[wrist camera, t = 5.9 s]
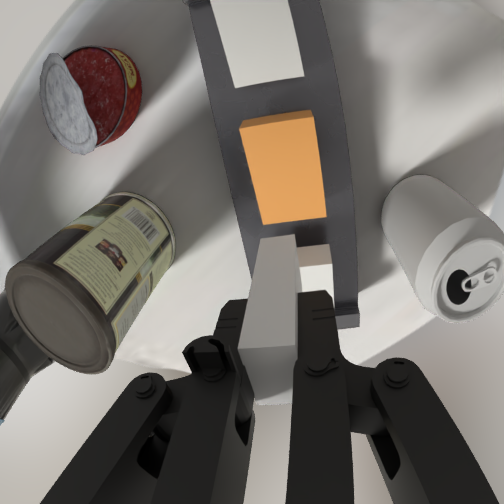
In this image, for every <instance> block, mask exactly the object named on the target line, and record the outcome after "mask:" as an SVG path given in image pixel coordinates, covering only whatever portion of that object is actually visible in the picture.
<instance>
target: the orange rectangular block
mask: <svg viewBox="0 0 504 504" xmlns="http://www.w3.org/2000/svg"><path fill="white" fill-rule="evenodd" d="M239 131H240V134H241V138H242V142H243V146H244V150H245V154H246V158H247V162H248V166H249V170H250V174H251V178H252V182H253V186H254V190H255V194H256V198H257V202H258V206H259V210H260V214H261V218H262V222H263V225H266V224H274V223H282V222H290V221H298V220H306V219H314V218H322V217H327V216H326V206H325V197H324V189H323V180H322V172H321V164H320V157H319V150H318V143H317V136H316V130H315V123H314V117H313V114H312V112H311V110H303V111H296V112H289V113H282V114H276V115H270V116H264V117H258V118H253V119H247V120H243V121H242V124H241V126H240V128H239Z"/></svg>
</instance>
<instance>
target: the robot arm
mask: <svg viewBox="0 0 504 504" xmlns="http://www.w3.org/2000/svg"><path fill="white" fill-rule="evenodd" d="M182 353H183V355H184V357H185V359H186V361H187V363H188V365H189V367H190V369H191V371H192V374H190V375H188V376H185V377H182V378H178V379H174V380H170V381H165V380H164V378H163V377H162V376H161V375H159V374H157V373H145V374H141V375H139V376H138V377H136V378H134V379H133V380H132V381H131V382H130V383H129V384H128V386H127V387H126V388H125V390H124V391H123V392H122V394H121V395H120V396H119V397H118V399H117V400H116V402H115V403H114V404H113V405H112V407H111V408H110V409H109V411H108V412H107V413H106V415H105V416H104V417H103V419H102V420H101V421H100V423H99V424H98V425H97V427H96V428H95V429H94V431H93V432H92V433H91V435H90V436H89V437H88V439H87V440H86V441H85V443H84V444H83V445H82V447H81V448H80V449H79V451H78V452H77V453H76V455H75V456H74V457H73V459H72V460H71V462H70V463H69V464H68V466H67V467H66V468H65V470H64V471H63V472H62V474H61V475H60V477H59V478H58V479H57V481H56V482H55V484H54V485H53V486H52V488H51V489H50V490H49V492H48V493H47V494H46V496H45V497H44V499H43V500H42V501H41V503H40V504H243V502H244V495H245V488H246V482H247V475H248V468H249V461H250V454H251V447H252V440H253V432H254V425H255V414H254V411H253V409H252V408H253V402H254V398H255V401H256V403H257V405H274V404H292V415H291V434H290V450H289V465H288V479H287V493H286V503H285V504H354V483H353V461H352V445H351V432H355V433H361V434H366V437H367V439H368V442H369V444H370V446H371V449H372V451H373V454H374V456H375V459H376V461H377V463H378V466H379V468H380V471H381V473H382V476H383V478H384V481H385V483H386V486H387V488H388V491H389V493H390V496H391V498H392V501H393V503H394V504H499V502H498V500H497V498H496V496H495V494H494V492H493V490H492V488H491V487H490V485H489V483H488V481H487V479H486V477H485V475H484V473H483V472H482V470H481V468H480V466H479V464H478V462H477V461H476V459H475V457H474V455H473V453H472V452H471V450H470V448H469V446H468V445H467V443H466V441H465V440H464V438H463V436H462V435H461V433H460V431H459V429H458V428H457V426H456V424H455V423H454V421H453V420H452V418H451V417H450V415H449V413H448V412H447V410H446V409H445V407H444V405H443V403H442V402H441V400H440V399H439V397H438V396H437V394H436V393H435V391H434V389H433V388H432V386H431V385H430V384H429V382H428V380H427V379H426V377H425V376H424V374H423V373H422V371H421V370H420V368H419V367H418V366H417V365H416V364H415V363H414V362H412V361H410V360H408V359H405V358H391V359H386V360H385V361H383V362H381V363H379V364H378V365H377V367H376V368H370V367H362V366H358V365H355V364H353V363H351V362H349V361H348V360H346V359H345V358H344V356H343V355H342V353H341V350H340V345H339V338H338V331H337V324H336V318H335V311H334V304H333V298H332V297H331V295H330V294H329V293H328V292H327V291H326V290H317V291H308V292H302V282H301V274H300V267H299V260H298V253H297V247H296V240H295V234H293V235H285V236H277V237H270V238H262V239H260V244H259V249H258V254H257V258H256V263H255V268H254V273H253V278H252V283H251V287H250V292H249V297H248V299H238V300H229V301H228V302H227V303H226V304H225V306H224V307H223V308H222V309H221V311H220V315H219V318H218V321H217V324H216V329H215V331H214V334H213V336H212V335H209V336H204V337H200V338H198V339H196V340H193V341H192V342H191V343H189V344H188V345H187V346H186V347H185V349H184V350H183V352H182ZM54 362H55V360H53V359H52V358H50V357H49V356H48V355H46V354H45V353H44V352H43V351H42V350H41V349H39V348H38V347H37V346H36V345H35V344H34V343H33V342H32V340H31V339H30V338H29V337H28V336H27V335H26V333H25V332H24V331H23V329H22V328H21V326H20V325H19V323H18V322H17V320H16V318H15V317H14V315H13V313H12V310H11V308H10V306H9V303H8V299H7V295H6V289H5V290H4V291H3V292H2V293H1V294H0V425H1V424H2V423H3V422H4V419H5V417H6V415H7V414H8V412H9V411H10V409H11V408H12V406H13V404H14V403H15V401H16V399H17V398H18V397H19V395H20V394H21V392H22V391H23V389H24V387H25V386H26V384H27V383H28V382H29V380H30V378H32V376H34V375H35V374H37V373H38V372H40V371H41V370H43V369H45V368H46V367H48V366H49V365H51V364H52V363H54Z"/></svg>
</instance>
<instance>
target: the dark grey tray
mask: <svg viewBox="0 0 504 504" xmlns="http://www.w3.org/2000/svg"><path fill="white" fill-rule="evenodd" d="M183 2H184V3H185V4H186V5H188V6H189V10H190V14H191V19H192V23H193V28H194V32H195V37H196V41H197V46H198V50H199V54H200V59H201V63H202V68H203V72H204V77H205V81H206V85H207V90H208V94H209V99H210V103H211V107H212V112H213V116H214V121H215V125H216V129H217V134H218V138H219V142H220V147H221V151H222V155H223V160H224V164H225V168H226V172H227V177H228V181H229V185H230V190H231V194H232V198H233V203H234V207H235V211H236V215H237V220H238V224H239V228H240V232H241V237H242V241H243V245H244V249H245V253H246V258H247V262H248V266H249V270H250V274H251V279H252V278H253V273H254V268H255V263H256V258H257V254H258V249H259V244H260V239H262V238H270V237H277V236H285V235H293V234H295V240H296V247H297V248H298V247H306V246H315V245H324V244H329V246H330V253H331V259H332V269H333V289H334V311H335V318H336V324H337V330H338V329H346V328H355V327H359V323H360V313H359V308H358V278H357V247H356V228H355V213H354V200H353V189H352V178H351V169H350V160H349V152H348V144H347V136H346V129H345V122H344V116H343V109H342V103H341V97H340V92H339V86H338V81H337V76H336V71H335V66H334V61H333V56H332V51H331V47H330V43H329V38H328V34H327V30H326V26H325V22H324V18H323V14H322V10H321V6H320V3H319V0H288V4H289V8H290V12H291V16H292V20H293V24H294V29H295V33H296V38H297V42H298V47H299V52H300V56H301V61H302V66H303V71H304V76H303V77H296V78H289V79H282V80H276V81H270V82H264V83H259V84H253V85H248V86H243V87H239V88H235V86H234V83H233V79H232V75H231V72H230V68H229V65H228V61H227V58H226V54H225V50H224V47H223V43H222V40H221V36H220V33H219V29H218V26H217V23H216V19H215V16H214V12H213V9H212V5H211V2H210V0H183ZM303 110H311V112H312V114H313V117H314V123H315V130H316V136H317V143H318V150H319V157H320V164H321V172H322V180H323V189H324V197H325V206H326V216H327V217H322V218H314V219H306V220H298V221H290V222H282V223H274V224H266V225H263V222H262V218H261V214H260V210H259V206H258V202H257V198H256V194H255V190H254V186H253V182H252V178H251V174H250V170H249V166H248V162H247V158H246V154H245V150H244V146H243V142H242V138H241V134H240V131H239V128H240V126H241V124H242V121H243V120H247V119H253V118H258V117H264V116H270V115H276V114H282V113H289V112H296V111H303Z"/></svg>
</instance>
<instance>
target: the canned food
mask: <svg viewBox="0 0 504 504" xmlns="http://www.w3.org/2000/svg"><path fill="white" fill-rule="evenodd" d="M141 97H142V82H141V78H140V74H139V71H138V69H137V67H136V65H135V63H134V62H133V61H132V59H131V58H130V57H129V56H128V55H126V54H125V53H124V52H122V51H119V50H117V49H112V48H105V47H100V46H92V45H90V46H83V47H80V48H77V49H75V50H73V51H72V52H70V53H69V54H67V55H66V56H65V57H64V58H63V59H62V57H61V56H60V55H59V54H58V53H52V54H49V55H48V57H47V59H46V60H45V62H44V63H43V68H42V72H41V76H40V98H41V102H42V107H43V114H44V116H45V118H46V122H47V125H48V127H49V129H50V132H51V133H52V135H53V136H54V137H55V139H56V140H57V141H58V142H59V143H60V144H61V145H63V146H64V147H66V148H67V149H68V150H70V151H71V152H72V153H78V154H82V155H85V154H87V153H89V152H91V151H94V149H95V148H96V147H99V146H102V145H104V144H107V143H110V142H112V141H115V140H116V139H118V138H119V137H120V136H122V135H123V134H124V133H125V132H126V131H127V130H128V129H129V127H130V126H131V124H132V123H133V121H134V120H135V118H136V115H137V113H138V111H139V107H140V103H141Z"/></svg>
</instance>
